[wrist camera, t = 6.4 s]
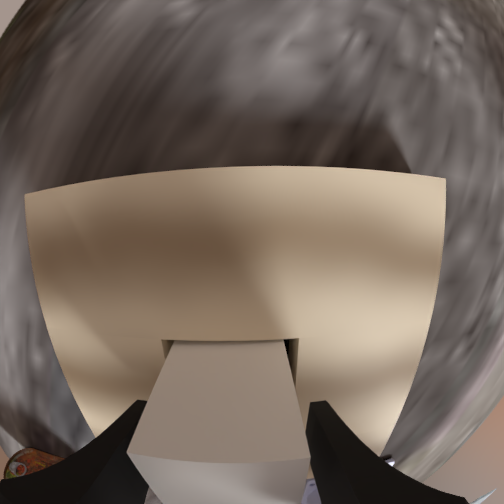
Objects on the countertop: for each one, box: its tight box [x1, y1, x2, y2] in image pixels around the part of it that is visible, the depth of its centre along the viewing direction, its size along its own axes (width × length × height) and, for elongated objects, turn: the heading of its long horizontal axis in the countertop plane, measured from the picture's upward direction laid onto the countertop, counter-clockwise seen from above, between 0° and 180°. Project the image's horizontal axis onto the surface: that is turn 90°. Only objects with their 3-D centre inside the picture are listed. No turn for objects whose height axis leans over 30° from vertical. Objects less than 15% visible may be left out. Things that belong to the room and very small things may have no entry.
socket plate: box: [25, 166, 446, 479], centre depth 12 cm, size 18×18×2 cm
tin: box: [4, 448, 65, 479], centre depth 13 cm, size 15×3×8 cm, turn 102°
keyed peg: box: [127, 339, 311, 504], centre depth 9 cm, size 4×6×8 cm
